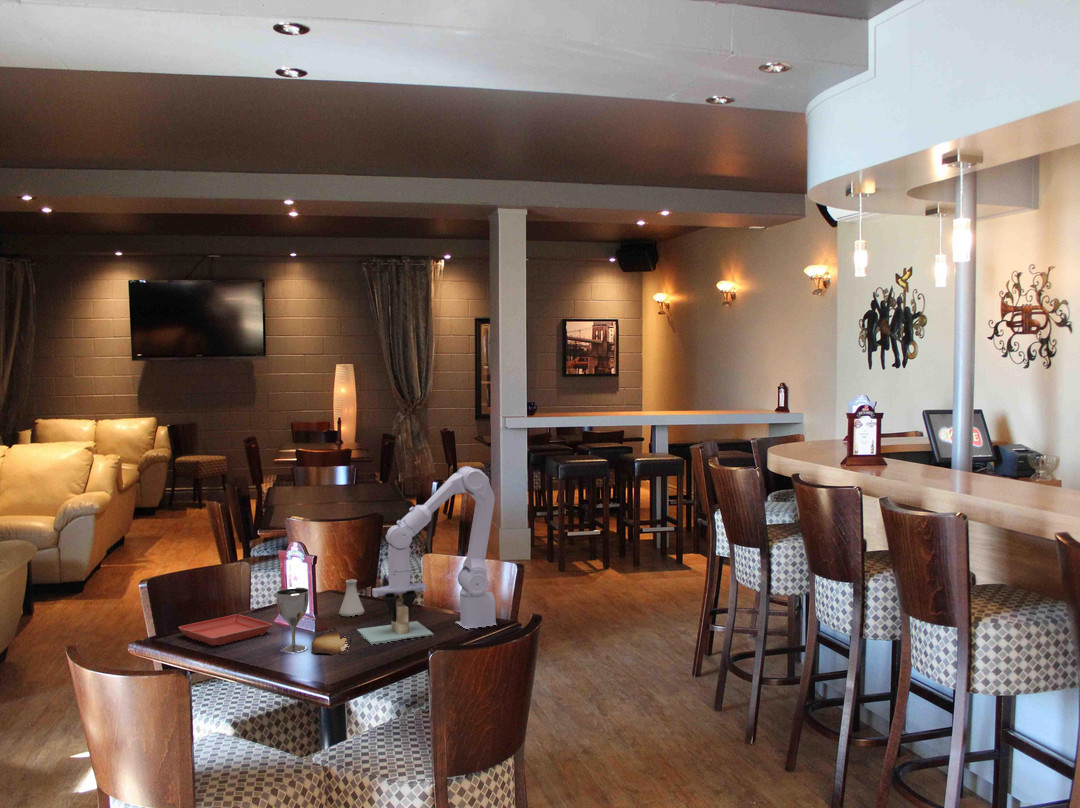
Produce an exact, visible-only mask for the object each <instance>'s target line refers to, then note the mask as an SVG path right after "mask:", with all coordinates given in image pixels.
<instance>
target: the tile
mask: <svg viewBox="0 0 1080 808" xmlns="http://www.w3.org/2000/svg"><path fill="white" fill-rule="evenodd" d="M409 618H410V614H409V608H408V607H407V606H405V605H404V603H403V602H401V601H396V622H393V621H392V620H391V625H392V629H393V630H394V631H395V632H397V633H398V634H399V635H400V634H407V633H408V632H409V622H410V619H409Z"/></svg>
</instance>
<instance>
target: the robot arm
mask: <svg viewBox="0 0 1080 808" xmlns="http://www.w3.org/2000/svg"><path fill="white" fill-rule="evenodd" d="M467 492H468V494H469V495H470V497H472V499H473V500H474V501H475V504H474V511H473V512H474V513H473V516H472V517H473V519H472V524H471V531H470V536H469V541H468V550H467V556H466V558H465V559H464V561H463V564H462V568H461V570H459V572H458V576H457V581H458V582H457V583H458V584H459V586H460V587H461V588H460V592H459V609H460V610H459V612H460V614H459V615H460V620H458V621H457V620H456V621H455V624H456V623H457V624H459V625H460V626H462V627H463V628H465V629H468V630H470V629H469V628H475V629H479V628H478V627H482V628H487V627H486V626H489V627H494V626H493V625H496V626H497V622H496V619H497V618H496V616H497V615H496V614H497V613H496V599H495V596H494V593H493V591H487V589H488V585H489V580H488V576H487V571H488V569H487V564H486V558H487V551H488V545H489V537H490V533H491V527H492V519H493V512H494V507H495V500H496V499H495V498H496V497H495V494H494V490H493V489H492V486H491V483H490V478H489V477H488V476H487V475H486V474H485V473H484V471H482V470H481V469H479V468H473V467H471V466H467V465H466V466H465V465H464V466H462V467H459V468H458V470H457V471H456V472H455V473H453V474H452V475H451V476H449V477H448V479H447V480H446V481H445V482H444V483H443V484H441V486H440V487H439V488H438V489H437V490H436V491H435V492H434V493H433V494H432V495H431V497H430V498H428V500H427V501H426V502H425V503H423V504H416V505H415V506H411V507H410V508H409V509H408V510H409V512H408V513H406V515H404V516H403V517H402V518H401V519H398V520H397V521H396V524H395V525H392V526H391V527H389V529H388V530H387V532H386V535H385V539H386V542H387V544H388V549H387V550H388V553H387V555H388V556H387V557H388V558H387V560H388V564H387V565H388V569H387V570H388V585H384V586H380V587H376V588H375V587H373V588H372V589H371V592H372V593H371V595H372V597H374V598H378V597H382V598H383V599H384V601H385V603H386V605H387V607H388V611H389V614H390V618H391V622H392V621H393V622H396V602H398V601H397V600H398V598H397V597H396V595H399V594H402V601H403V602H402V603H403V604H404V605H405V606H407V607H408V608H409V615H410V614H411V611H412V607H413V605H414V602H415V600H416V598H417V592H427V584H426V583H425V582H417V583H414V582H413V583H411V565H410V556H411V555H410V545H411V544H412V540H413V537H415V536H416V535H417V534H418V533H419V532H421V531H422V529H424V527H425V526H427V525H428V524H429V523H430V522H431V521H432V516H433V513H434V512H435V511H437V510H438V508H440V507H441V506H442V505H443V504H444V503H445V502H447V501H448V500H449V499H450V498H451V497H452V496H453V495H457V494H458V495H459V494H463V493H467ZM457 624H456V625H457ZM459 625H458V626H459ZM460 626H459V627H460ZM462 627H461V628H462ZM463 628H462V629H463ZM465 629H464V630H465Z"/></svg>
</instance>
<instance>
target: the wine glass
mask: <svg viewBox="0 0 1080 808" xmlns="http://www.w3.org/2000/svg"><path fill="white" fill-rule="evenodd" d="M275 597H276V605H277V611H278V613H279V615H280V616H281V617H282V618H283V620H284V621H286V623H287V624H288V625H289V628H290V634H291V644H290V645H288V646H287V645H286V646H287V647H286V646H284V647H285V648H283V647H282V648H283V650H284V651H287V652H297V651H301V650H304V649H305V646H306V645H304V646H302V644H301V645H300V644H296V629H297V625H298V623H299V622H300V621H301V619H302V618H304V616H305V614H306V613H307V611H308V606H309V599H310V594H309V589H308V588H306V587H287V588H282V589H278V590H277V591H276V596H275Z"/></svg>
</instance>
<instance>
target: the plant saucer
mask: <svg viewBox="0 0 1080 808" xmlns="http://www.w3.org/2000/svg"><path fill="white" fill-rule="evenodd" d="M272 626H273V623H270V622H267V621H264V620H261V619H256V618H253V617H249V616H245V615H243V614H232V615H226V616H222V617H218V618H212V619H209V620H203V621H199V622H194V623H189V624H184V625H180V626H178V630H180V632H181V633H182V634H184V636H185V637H187V638H188V637H189V638H188V639H191V638H192V639H191V640H194V639H196V640H195V641H197V640H199V641H198V642H200V641H202V642H201V643H203V642H205V643H204V644H206V643H208V644H207V645H209V644H211V645H210V646H212V645H220V644H223V643H228V644H230V643H229V642H232V643H234V642H233V641H236V642H238V641H237V640H240V641H242V640H241V639H244V640H247V639H246V638H248V639H251V638H250V637H252V638H255V637H254V636H256V637H258V636H257V635H260V636H262V635H261V634H263V635H265V634H266V633H267V632H268V630H270V629H271V627H272ZM220 646H221V645H220Z"/></svg>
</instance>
